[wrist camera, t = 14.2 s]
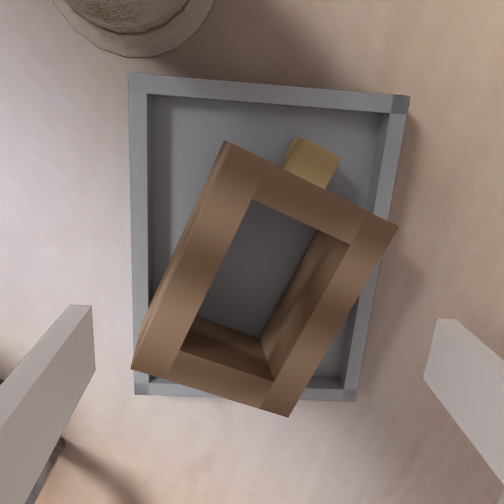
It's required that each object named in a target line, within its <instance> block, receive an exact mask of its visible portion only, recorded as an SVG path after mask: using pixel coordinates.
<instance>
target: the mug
mask: <svg viewBox="0 0 504 504" xmlns="http://www.w3.org/2000/svg"><path fill="white" fill-rule="evenodd" d="M53 2H54V4H55V6H56V7H57V8H58V10H59V11H60V12H61V13H62V15H63V16H64V17H65V18H66V20H67V21H68V22H69V23H70V25H71V26H72V27H73V28H74V30H75V31H77V32H78V33H79V34H81V35H82V36H84V37H85V38H86V39H88V40H89V41H90V42H92V43H93V44H95V45H96V46H97V47H99V48H100V49H104V50H107V51H110V52H113V53H116V54H119V55H122V56H125V57H154V56H157V55H160V54H162V53H165V52H168V51H170V50H173V49H176V48H178V47H179V46H180V45H181V44H183V43H184V42H185V41H186V40H187V39H188V38H190V37H191V36H192V35H193V34H194V33H195V32H197V31H198V30H199V28H200V26H201V24H202V23H203V21H204V19H205V18H206V16H207V14H208V13H209V11H210V9H211V8H212V6H213V3H214V0H53Z"/></svg>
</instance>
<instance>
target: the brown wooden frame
mask: <svg viewBox="0 0 504 504" xmlns="http://www.w3.org/2000/svg"><path fill="white" fill-rule="evenodd" d="M340 159H341V158H340V157H338V156H336V155H335V154H333V153H331V152H329V151H327V150H325V149H323V148H321V147H320V146H318V145H316V144H314V143H312V142H310V141H308V140H306V139H302V138H294V139H293V141H292V143H291V145H290V147H289V149H288V151H287V154H286V156H285V158H284V160H283V162H282V164H281V166H280V167H279V166H277V165H275V164H273V163H271V162H269V161H267V160H265V159H263V158H261V157H259V156H257V155H255V154H253V153H251V152H249V151H247V150H245V149H243V148H241V147H239V146H237V145H235V144H233V143H230V142H228V141H225V140H224V141H223V144H222V146H221V148H220V150H219V153H218V155H217V157H216V159H215V161H214V164H213V166H212V168H211V170H210V173H209V175H208V177H207V179H206V182H205V184H204V186H203V188H202V190H201V193H200V195H199V197H198V199H197V202H196V204H195V206H194V208H193V210H192V213H191V215H190V217H189V219H188V222H187V224H186V226H185V228H184V230H183V233H182V235H181V237H180V239H179V242H178V244H177V246H176V248H175V250H174V253H173V255H172V257H171V259H170V262H169V264H168V266H167V268H166V270H165V273H164V275H163V277H162V279H161V282H160V284H159V286H158V288H157V290H156V293H155V295H154V297H153V299H152V302H151V304H150V306H149V308H148V311H147V313H146V315H145V317H144V319H143V322H142V324H141V327H140V331H139V335H138V339H137V344H136V348H135V352H134V356H133V360H132V364H131V369H132V370H135V371H139V372H142V373H145V374H148V375H152V376H155V377H158V378H161V379H165V380H168V381H171V382H174V383H178V384H181V385H184V386H187V387H191V388H194V389H197V390H200V391H204V392H207V393H210V394H213V395H217V396H220V397H223V398H226V399H230V400H233V401H236V402H239V403H243V404H246V405H249V406H252V407H256V408H259V409H262V410H265V411H269V412H272V413H275V414H278V415H282V416H285V417H289V415H290V413H291V412H292V410H293V408H294V407H295V405H296V403H297V401H298V400H299V398H300V396H301V394H302V393H303V391H304V389H305V388H306V386H307V384H308V382H309V381H310V379H311V377H312V375H313V374H314V372H315V370H316V369H317V367H318V365H319V363H320V362H321V360H322V358H323V357H324V355H325V353H326V351H327V350H328V348H329V346H330V344H331V343H332V341H333V339H334V338H335V336H336V334H337V332H338V331H339V329H340V327H341V325H342V324H343V322H344V320H345V319H346V317H347V315H348V313H349V312H350V310H351V308H352V306H353V305H354V303H355V301H356V300H357V298H358V296H359V294H360V293H361V291H362V289H363V287H364V286H365V284H366V282H367V281H368V279H369V277H370V275H371V274H372V272H373V270H374V268H375V267H376V265H377V263H378V262H379V260H380V258H381V256H382V255H383V253H384V251H385V249H386V248H387V246H388V244H389V243H390V241H391V239H392V237H393V236H394V234H395V232H396V230H397V229H398V226H396V225H394V224H392V223H390V222H388V221H386V220H384V219H382V218H380V217H378V216H376V215H374V214H372V213H371V212H369V211H367V210H365V209H363V208H361V207H359V206H357V205H355V204H353V203H351V202H349V201H347V200H345V199H343V198H341V197H339V196H337V195H335V194H333V193H331V192H329V191H327V190H325V188H326V186H327V184H328V182H329V180H330V178H331V177H332V175H333V173H334V171H335V169H336V167H337V165H338V163H339V161H340ZM252 199H253V200H255V201H257V202H260V203H262V204H264V205H266V206H268V207H270V208H272V209H275V210H277V211H279V212H281V213H283V214H285V215H287V216H290V217H292V218H294V219H296V220H298V221H300V222H302V223H305V224H307V225H309V226H311V227H313V228H315V229H317V232H316V234H315V236H314V238H313V239H312V241H311V243H310V245H309V247H308V249H307V251H306V253H305V254H304V256H303V258H302V260H301V262H300V264H299V266H298V268H297V270H296V271H295V273H294V275H293V277H292V279H291V281H290V283H289V285H288V286H287V288H286V290H285V292H284V294H283V296H282V298H281V300H280V302H279V303H278V305H277V307H276V309H275V311H274V313H273V315H272V317H271V319H270V320H269V322H268V324H267V326H266V328H265V330H264V332H263V334H262V335H261V337H260V338H257V337H254V336H251V335H249V334H246V333H243V332H240V331H237V330H235V329H232V328H229V327H226V326H224V325H221V324H218V323H215V322H213V321H210V320H207V319H204V318H201V317H199V316H196V314H197V312H198V310H199V308H200V306H201V304H202V302H203V300H204V298H205V296H206V294H207V292H208V289H209V287H210V285H211V283H212V281H213V279H214V277H215V275H216V273H217V271H218V269H219V267H220V265H221V263H222V260H223V258H224V256H225V254H226V252H227V250H228V248H229V246H230V244H231V242H232V240H233V238H234V236H235V233H236V231H237V229H238V227H239V225H240V223H241V221H242V219H243V217H244V215H245V213H246V211H247V209H248V207H249V204H250V202H251V200H252Z"/></svg>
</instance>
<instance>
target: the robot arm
mask: <svg viewBox="0 0 504 504" xmlns="http://www.w3.org/2000/svg"><path fill="white" fill-rule="evenodd" d="M94 372H95V354H94V337H93V321H92V305H69V306H68V307H67V308H66V310H65V311H64V312H63V313H62V314H61V315H60V317H59V318H58V319H57V320H56V321H55V322H54V324H53V325H52V326H51V327H50V328H49V329H48V331H47V332H46V333H45V334H44V335H43V336H42V338H41V339H40V340H39V341H38V342H37V343H36V344H35V346H34V347H33V348H32V349H31V350H30V351H29V353H28V354H27V355H26V356H25V357H24V358H23V360H22V361H21V362H20V363H19V364H18V365H17V367H16V368H15V369H14V370H13V371H12V372H11V374H10V375H9V376H8V377H7V378H6V379H5V380H0V504H25V502H26V500H27V499H28V497H29V495H30V493H31V491H32V489H33V487H34V485H35V483H36V482H37V480H38V478H39V476H40V474H41V472H42V470H43V468H44V466H45V465H46V463H47V461H48V459H49V457H50V455H51V453H52V451H53V449H54V448H55V446H56V444H57V442H58V440H59V438H60V436H61V434H62V432H63V431H64V429H65V427H66V425H67V423H68V421H69V419H70V417H71V415H72V414H73V412H74V410H75V408H76V406H77V404H78V402H79V400H80V398H81V397H82V395H83V393H84V391H85V389H86V387H87V385H88V383H89V381H90V380H91V378H92V376H93V374H94ZM423 380H424V381H425V382H426V384H427V385H428V386H429V387H430V389H431V390H432V391H433V393H434V394H435V395H436V397H437V398H438V399H439V401H440V402H441V403H442V405H443V406H444V407H445V408H446V410H447V411H448V412H449V414H450V415H451V416H452V418H453V419H454V420H455V422H456V423H457V424H458V426H459V427H460V428H461V430H462V431H463V432H464V433H465V435H466V436H467V437H468V439H469V440H470V441H471V443H472V444H473V445H474V447H475V448H476V449H477V451H478V452H479V453H480V454H481V456H482V457H483V458H484V460H485V461H486V462H487V464H488V465H489V466H490V468H491V469H492V470H493V472H494V473H495V474H496V475H497V477H498V478H499V479H500V481H501V482H502V483H503V485H504V360H503V359H501V358H500V357H499V356H498V355H497V354H496V353H494V352H493V351H492V350H491V349H490V348H489V347H488V346H486V345H485V344H484V343H483V342H482V341H481V340H479V339H478V338H477V337H476V336H475V335H474V334H472V333H471V332H470V331H469V330H468V329H467V328H466V327H464V326H463V325H462V324H461V323H460V322H459V321H457V320H456V319H437V322H436V326H435V330H434V334H433V338H432V342H431V347H430V351H429V355H428V359H427V363H426V367H425V371H424V375H423Z"/></svg>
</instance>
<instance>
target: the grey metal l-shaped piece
mask: <svg viewBox="0 0 504 504" xmlns="http://www.w3.org/2000/svg"><path fill="white" fill-rule="evenodd" d="M64 446H65V442H64V440H63V439H62V438H61V437H60V438H59V440H58V442H57V444H56V446H55V448H54V449H53V451H52V453H51V455H50V457H49V459H48V461H47V463H46V465H45V466H44V468H43V470H42V472H41V474H40V476H39V478H38V480H37V482H36V483H35V485H34V487H33V489H32V491H31V493H30V495H29V497H28V499H27V500H26V502H25V504H34V503H35V501H36V499H37V498H38V496H39V494H40V492H41V490H42V488H43V486H44V484H45V483H46V481H47V479H48V477H49V475H50V473H51V471H52V469H53V467H54V466H55V464H56V462H57V460H58V458H59V456H60V454H61V452H62V450H63V449H64Z"/></svg>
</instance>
